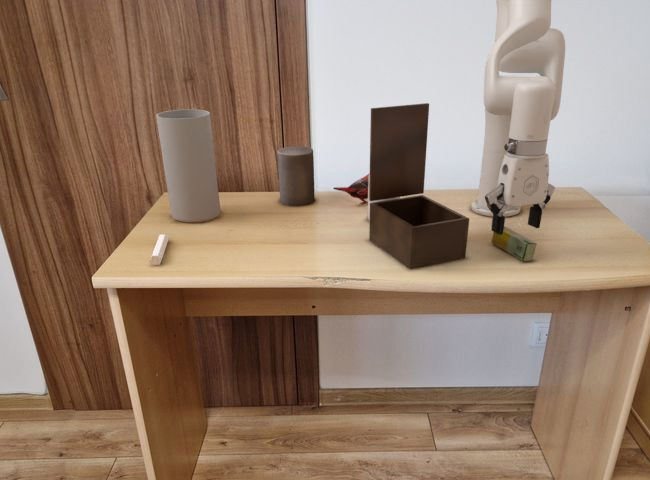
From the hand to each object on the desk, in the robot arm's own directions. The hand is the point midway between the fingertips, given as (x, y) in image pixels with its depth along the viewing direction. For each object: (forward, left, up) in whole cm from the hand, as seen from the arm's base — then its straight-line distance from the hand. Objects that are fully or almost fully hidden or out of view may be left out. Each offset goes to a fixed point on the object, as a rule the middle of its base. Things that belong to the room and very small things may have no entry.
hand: (515, 229), depth 133 cm
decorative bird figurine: (+15, -45, -6) cm, 48 cm away
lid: (+18, -20, +14) cm, 30 cm away
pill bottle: (+15, -32, -6) cm, 36 cm away
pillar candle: (+29, -56, -6) cm, 64 cm away
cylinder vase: (+57, -56, -6) cm, 80 cm away
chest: (+18, -11, -5) cm, 22 cm away
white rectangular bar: (+70, -35, -6) cm, 78 cm away
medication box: (0, 0, -6) cm, 6 cm away
